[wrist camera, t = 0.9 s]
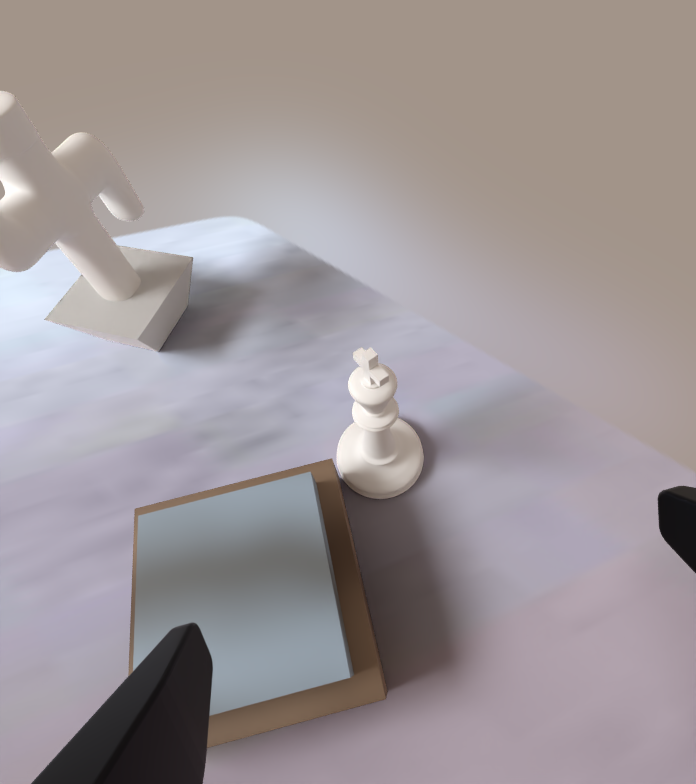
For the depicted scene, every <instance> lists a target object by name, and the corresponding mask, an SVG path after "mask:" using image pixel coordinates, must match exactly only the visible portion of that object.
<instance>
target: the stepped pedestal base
mask: <svg viewBox="0 0 696 784" xmlns="http://www.w3.org/2000/svg"><path fill="white" fill-rule="evenodd" d="M191 622H193V623H196V624H197V625H198V626H199V628H200V630H201V632H202V635H203V637H204V640H205V642H206V644H207V647H208V649H209V651H210V654H211V657H212V662H213V676H212V689H211V702H210V715H209V728H208V740H207V748H209V747H212V746H216V745H219V744H223V743H227V742H230V741H234V740H238V739H241V738H245V737H249V736H252V735H256V734H260V733H263V732H267V731H271V730H274V729H278V728H282V727H285V726H289V725H293V724H296V723H300V722H304V721H307V720H311V719H315V718H318V717H322V716H326V715H329V714H333V713H337V712H340V711H344V710H347V709H351V708H355V707H358V706H362V705H366V704H369V703H373V702H377V701H380V700H384V699H386V696H387V692H388V691H387V687H386V682H385V678H384V673H383V669H382V665H381V660H380V656H379V651H378V647H377V643H376V638H375V634H374V629H373V625H372V621H371V616H370V612H369V607H368V603H367V599H366V594H365V590H364V586H363V581H362V577H361V572H360V568H359V564H358V559H357V555H356V550H355V546H354V542H353V537H352V533H351V528H350V524H349V520H348V515H347V511H346V506H345V502H344V498H343V493H342V489H341V484H340V480H339V477H338V474H337V471H336V468H335V466H334V463H333V460H332V459H328V460H324V461H320V462H316V463H312V464H308V465H304V466H301V467H297V468H293V469H289V470H285V471H281V472H277V473H273V474H269V475H265V476H261V477H258V478H254V479H250V480H246V481H242V482H238V483H234V484H230V485H226V486H222V487H218V488H214V489H211V490H207V491H203V492H199V493H195V494H191V495H187V496H183V497H179V498H175V499H171V500H167V501H164V502H160V503H156V504H152V505H148V506H144V507H140V508H136V509H135V517H134V544H133V570H132V597H131V623H130V650H129V675H130V674H131V673H132V672H133V671H134V670H135V669H136V667H137V666H138V665H139V664H140V663H141V662H142V661H143V660H144V659H145V658H146V656H147V655H148V654H149V653H150V652H151V651H152V650H153V649H154V648H155V647H156V645H157V644H158V643H159V642H160V641H161V640H162V639H163V638H164V637H165V636H166V634H167V633H168V632H169V631H170V630H171V629H172V628H174V627H177V626H180V625H184V624H188V623H191Z"/></svg>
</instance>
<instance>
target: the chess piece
mask: <svg viewBox="0 0 696 784" xmlns="http://www.w3.org/2000/svg"><path fill="white" fill-rule="evenodd" d="M353 357H354V360H355V361H356V362H357V363H358V364H359V365H360V366H359V367H358V368H357V369H355V370H354V371H353V373H352V374H351V376H350V378H349V382H348V388H349V392H350V394H351V396H352V397H353V398H354V400H355V402H354V405H353V408H352V416H353V419H354V421H355V422H354V423H352V424H351V425H350V426H349V427H348V428H347V429H346V430H345V432H344V433H343V435H342V436H341V438H340V441H339V444H338V448H337V466H338V470H339V473H340V475H341V477H342V478H343V480H344V481H345V483H346V484H347V485H348V486H349V487H350V488H351V489H352V490H354V491H355V492H357V493H359V494H361V495H363V496H365V497H369V498H374V499H386V498H391V497H395V496H397V495H400V494H402V493H403V492H405V491H406V490H408V489H409V488H410V487H411V486H412V485H413V484H414V483H415V482H416V480H417V479H418V477H419V475H420V473H421V471H422V467H423V462H424V454H423V449H422V445H421V441H420V439H419V437H418V435H417V433H416V432H415V431H414V429H413V428H412V427H411V426H410V425H409V424H408V423H406V422H405V421H403V420H401V419H400V418H398V414H399V408H398V404H397V402H396V400H395V399H394V398H393V396H394V394H395V392H396V389H397V378H396V376H395V374H394V372H393V371H392V370H391V369H390V368H389V367H387V366H385V365H383V364H380V363H378V355H377V354H376V353H375V352H374V350H373V349H372V348H371V347H370V348H369V349H367V350H366V351H365V350H364V349H363V348H362V347H361V348H360V349H358V350H357V351H355V352H353Z"/></svg>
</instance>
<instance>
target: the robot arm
mask: <svg viewBox="0 0 696 784" xmlns="http://www.w3.org/2000/svg"><path fill="white" fill-rule="evenodd" d="M658 515H659V529H660V532H661V535H662V537H663V538H664V540H665V541H666V542H667V543H668V544H669V545H670V547H671V548H672V549H673V550H674V551H675V552H676V553H677V554H678V555H679V556H680V557H681V558H682V559H683V560H684V561H685V563H686V564H687V565H688V566H689V567H690V568H691V569H692V570H693V571H694V572H695V573H696V488H693V487H687V486H677V487H674V488H670V489H667V490H663V491H662V492H660V493H659V495H658ZM212 676H213V662H212V657H211V654H210V651H209V649H208V647H207V644H206V642H205V640H204V637H203V635H202V632H201V630H200V628H199V626H198V625H197V624H196V623H193V622H191V623H188V624H184V625H180V626H177V627H174V628H172V629H171V630H170V631H169V632H168V633H167V634H166V636H165V637H164V638H163V639H162V640H161V641H160V642H159V643H158V644H157V645H156V647H155V648H154V649H153V650H152V651H151V652H150V653H149V654H148V655H147V656H146V658H145V659H144V660H143V661H142V662H141V663H140V664H139V665H138V666H137V667H136V669H135V670H134V671H133V672H132V673H131V674H130V675H129V676H128V677H127V679H126V680H125V681H124V682H123V683H122V684H121V685H120V686H119V687H118V688H117V690H116V691H115V692H114V693H113V694H112V695H111V696H110V697H109V698H108V699H107V701H106V702H105V703H104V704H103V705H102V706H101V707H100V708H99V709H98V711H97V712H96V713H95V714H94V715H93V716H92V717H91V718H90V719H89V720H88V722H87V723H86V724H85V725H84V726H83V727H82V728H81V729H80V730H79V731H78V733H77V734H76V735H75V736H74V737H73V738H72V739H71V740H70V741H69V742H68V744H67V745H66V746H65V747H64V748H63V749H62V750H61V751H60V752H59V753H58V755H57V756H56V757H55V758H54V759H53V760H52V761H51V762H50V763H49V765H48V766H47V767H46V768H45V769H44V770H43V771H42V772H41V773H40V774H39V776H38V777H37V778H36V779H35V780H34V781H33V782H32V783H31V784H203V777H204V771H205V763H206V753H207V740H208V728H209V715H210V702H211V689H212Z"/></svg>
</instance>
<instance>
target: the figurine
mask: <svg viewBox="0 0 696 784" xmlns="http://www.w3.org/2000/svg"><path fill="white" fill-rule="evenodd" d="M0 180H1V182H2V183H3V186H4V188H5V192H6V193H5V196H4V198H2V199H1V200H0V268H2V269H5V270H8V271H12V272H21V271H25V270H28V269H29V268H31V267H32V266H33V265H35V264H36V263H37V262H38V261H39V259H40V258H41V257H42V256H43V255H44V254H45V253H46V252H47V251H48V250H49V249H50V247H51V246H52V245H53V244H54V243H55V244H56V245H57V246H58V247H59V248H60V249H61V251H62V252H63V253H64V254H65V255H66V256H67V258H68V259H69V260H70V261H71V262H72V263H73V265H74V266H75V267H76V268H77V269H78V270H79V272H80V273H81V274H82V275H81V276H80V277H79V278H78V280H77V281H76V282H75V283H74V284H73V286H72V287H71V288H70V289H69V290H68V292H67V293H66V294H65V295H64V296H63V298H62V299H61V300H60V301H59V303H58V304H57V305H56V306H55V307H54V309H53V310H52V311H51V312H50V313H49V315H48V316H47V317H46V318H45V319H44V320H47V321H50V322H53V323H56V324H59V325H62V326H65V327H68V328H71V329H74V330H78V331H81V332H84V333H87V334H90V335H93V336H96V337H99V338H102V339H105V340H108V341H112V342H117V343H121V344H126V345H130V346H135V347H139V348H144V349H148V350H152V351H157V352H159V350H160V349H161V347H162V346H163V344H164V343H165V341H166V339H167V338H168V336H169V335H170V333H171V332H172V330H173V328H174V327H175V325H176V324H177V322H178V321H179V319H180V317H181V316H182V314H183V313H184V311H185V310H186V308H187V306H188V299H189V290H190V281H191V272H192V264H193V257H188V256H182V255H175V254H169V253H162V252H156V251H150V250H143V249H137V248H130V247H124V246H118V245H116V243H115V242H114V241H113V239H112V238H111V236H110V235H109V234H108V232H107V231H106V229H105V228H104V227H103V225H102V224H101V222H100V221H99V220H98V218H97V217H96V216H95V214H94V211H93V208H92V205H91V203H92V202H93V200H94V199H95V198H96V197H97V196H98V195H99V197H100V198H101V199H102V201H103V202H104V204H105V205H106V206H107V208H108V209H109V211H110V212H111V213H112V214H113V215H114V216H115V217H116V218H118V219H121V220H124V221H134V220H137V219H139V218H140V217H142V215H143V213H144V208H143V205H142V203H141V201H140V200H139V198H138V196H137V194H136V192H135V191H134V189H133V187H132V186H131V184H130V182H129V180H128V179H127V177H126V175H125V174H124V172H123V170H122V168H121V167H120V165H119V164H118V162H117V160H116V159H115V157H114V156H113V154H112V153H111V152H110V150H109V149H108V148H107V147H106V146H105V144H104V143H103V142H102V141H100V140H99V139H98V138H97V137H95V136H93V135H91V134H88V133H83V132H80V133H75V134H73V135H71V136H69V137H68V138H67V139H66V140H65V141H64V142H63V143H62V144H61V145H60V146H58V148H56V149H55V150H54V151H53V152H52V153H51V152H50V151H49V149H48V148H47V146H46V145H45V143H44V142H43V140H42V139H41V137H40V136H39V134H38V131H37V129H36V128H35V126H34V125H33V123H32V122H31V120H30V119H29V117H28V115H27V114H26V112H25V111H24V109H23V108H22V106H21V104H20V103H19V101H18V100H17V98H16V96H14V95H13V94H11V93H9V92H6V91H0Z"/></svg>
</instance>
